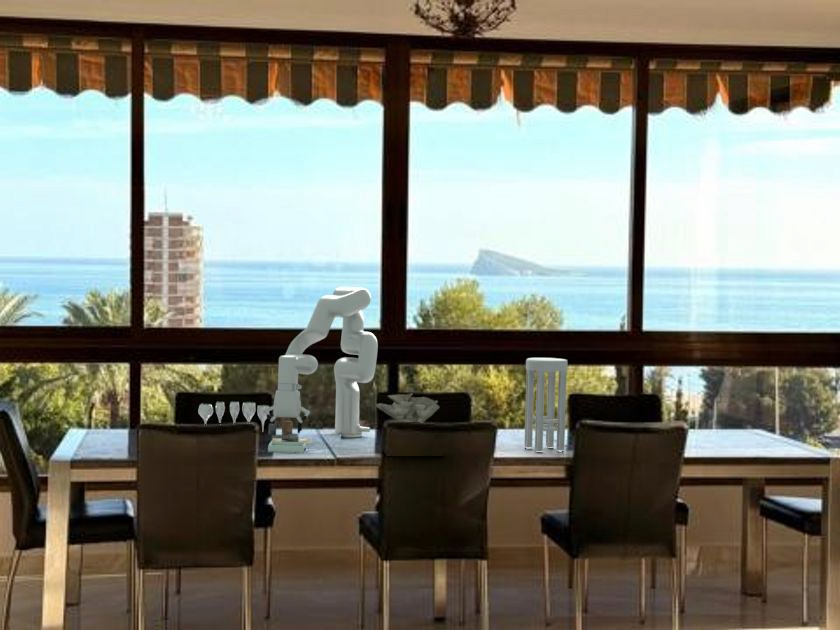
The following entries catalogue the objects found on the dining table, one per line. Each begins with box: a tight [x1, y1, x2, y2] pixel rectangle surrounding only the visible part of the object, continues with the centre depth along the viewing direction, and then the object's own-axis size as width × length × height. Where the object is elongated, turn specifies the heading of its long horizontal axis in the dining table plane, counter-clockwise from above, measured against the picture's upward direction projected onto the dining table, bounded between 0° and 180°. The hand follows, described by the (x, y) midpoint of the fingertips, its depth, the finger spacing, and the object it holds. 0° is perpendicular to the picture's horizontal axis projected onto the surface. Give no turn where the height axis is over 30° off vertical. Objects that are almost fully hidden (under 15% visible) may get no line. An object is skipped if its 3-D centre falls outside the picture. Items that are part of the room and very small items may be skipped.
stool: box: [524, 357, 568, 452], centre depth 473 cm, size 16×16×35 cm
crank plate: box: [268, 438, 313, 446], centre depth 471 cm, size 15×15×2 cm
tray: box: [267, 440, 307, 454], centre depth 457 cm, size 13×10×2 cm
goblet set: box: [197, 401, 270, 433], centre depth 495 cm, size 28×6×13 cm, turn 94°
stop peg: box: [281, 420, 294, 441], centre depth 474 cm, size 4×4×7 cm
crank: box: [268, 423, 300, 442], centre depth 469 cm, size 11×4×6 cm, turn 90°
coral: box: [375, 392, 441, 424], centre depth 460 cm, size 25×20×22 cm
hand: (286, 432), depth 474 cm, fingers open, 9 cm apart
